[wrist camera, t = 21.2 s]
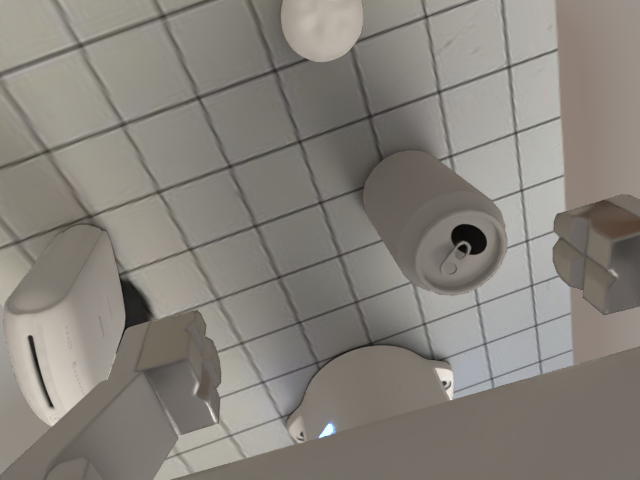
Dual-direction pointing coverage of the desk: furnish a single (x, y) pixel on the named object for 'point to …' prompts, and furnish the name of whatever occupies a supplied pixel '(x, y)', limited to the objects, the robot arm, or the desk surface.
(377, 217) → the can
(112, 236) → the desk surface
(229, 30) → the desk surface
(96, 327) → the photo printer
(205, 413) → the robot arm
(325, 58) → the milkshake
